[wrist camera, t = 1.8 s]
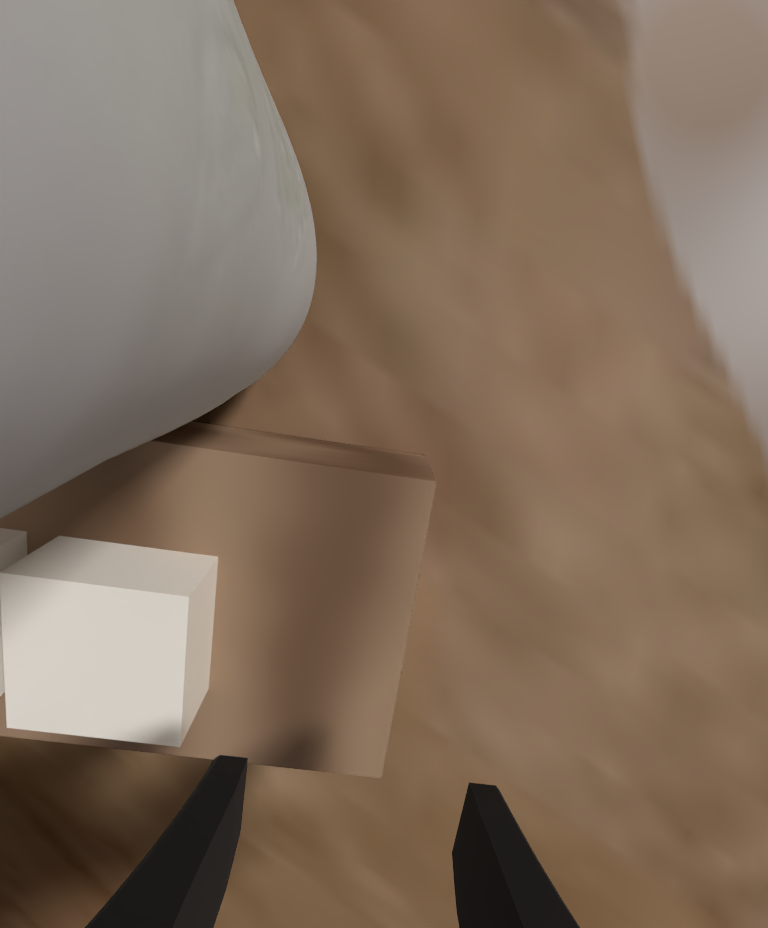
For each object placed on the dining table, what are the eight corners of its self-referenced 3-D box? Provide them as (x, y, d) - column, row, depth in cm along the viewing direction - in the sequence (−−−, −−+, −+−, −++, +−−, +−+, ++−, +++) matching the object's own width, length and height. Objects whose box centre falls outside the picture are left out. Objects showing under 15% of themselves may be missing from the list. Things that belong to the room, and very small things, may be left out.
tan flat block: (-94, 651, 20) (-189, 714, 17) (-123, 375, 17) (-243, 384, 14) (380, 708, 21) (381, 778, 18) (425, 455, 18) (436, 481, 15)
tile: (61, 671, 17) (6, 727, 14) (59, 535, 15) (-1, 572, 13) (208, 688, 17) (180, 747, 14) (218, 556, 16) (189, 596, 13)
